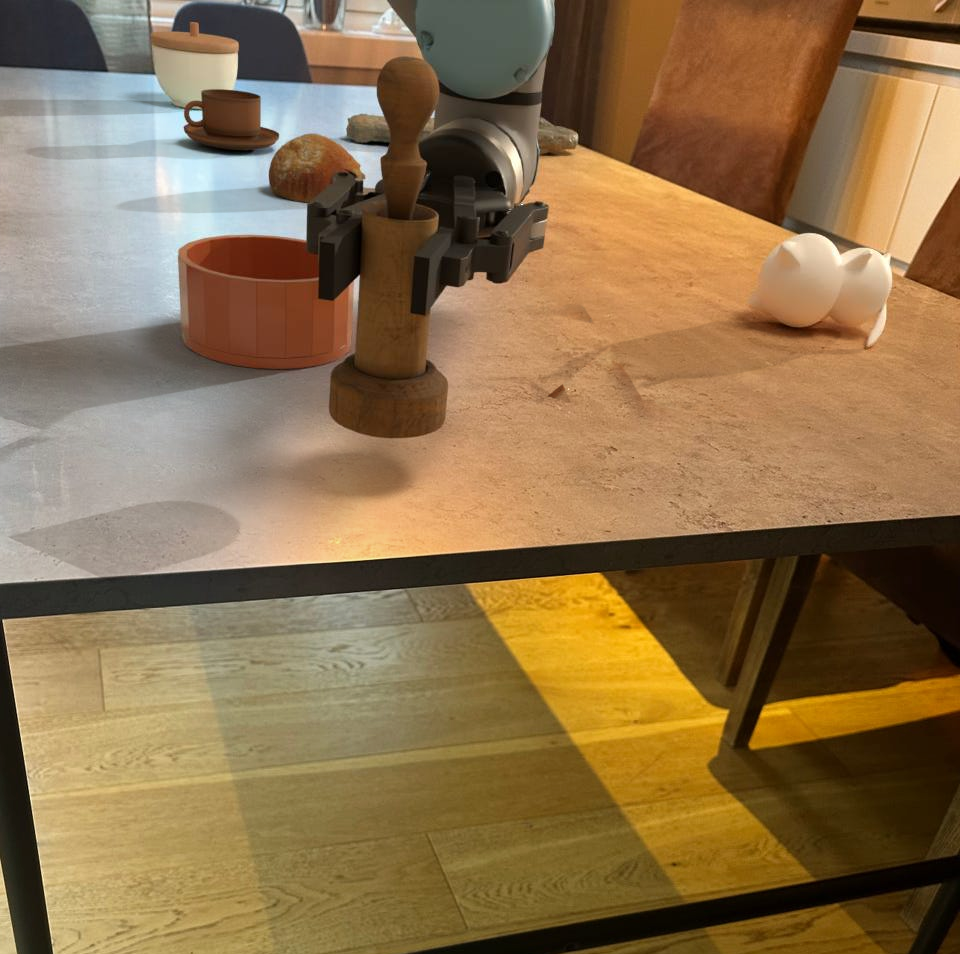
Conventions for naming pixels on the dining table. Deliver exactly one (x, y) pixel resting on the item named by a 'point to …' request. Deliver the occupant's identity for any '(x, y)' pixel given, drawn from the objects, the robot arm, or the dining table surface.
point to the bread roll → (309, 167)
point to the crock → (260, 303)
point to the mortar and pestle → (394, 279)
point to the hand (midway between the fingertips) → (373, 278)
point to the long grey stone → (377, 128)
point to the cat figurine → (823, 284)
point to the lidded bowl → (193, 63)
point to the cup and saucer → (229, 121)
